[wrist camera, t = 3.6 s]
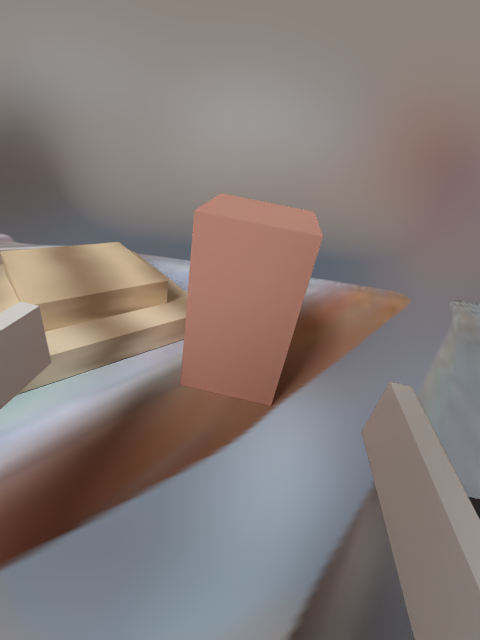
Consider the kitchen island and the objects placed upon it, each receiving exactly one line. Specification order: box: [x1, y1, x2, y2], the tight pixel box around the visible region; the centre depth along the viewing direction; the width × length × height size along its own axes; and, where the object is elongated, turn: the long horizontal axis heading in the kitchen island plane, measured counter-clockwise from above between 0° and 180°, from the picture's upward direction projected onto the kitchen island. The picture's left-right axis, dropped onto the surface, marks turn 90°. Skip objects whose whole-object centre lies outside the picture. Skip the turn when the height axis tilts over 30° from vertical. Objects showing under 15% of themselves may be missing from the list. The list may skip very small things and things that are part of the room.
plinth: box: [0, 242, 188, 394], centre depth 24 cm, size 14×14×4 cm
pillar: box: [181, 194, 323, 406], centre depth 19 cm, size 6×6×11 cm
